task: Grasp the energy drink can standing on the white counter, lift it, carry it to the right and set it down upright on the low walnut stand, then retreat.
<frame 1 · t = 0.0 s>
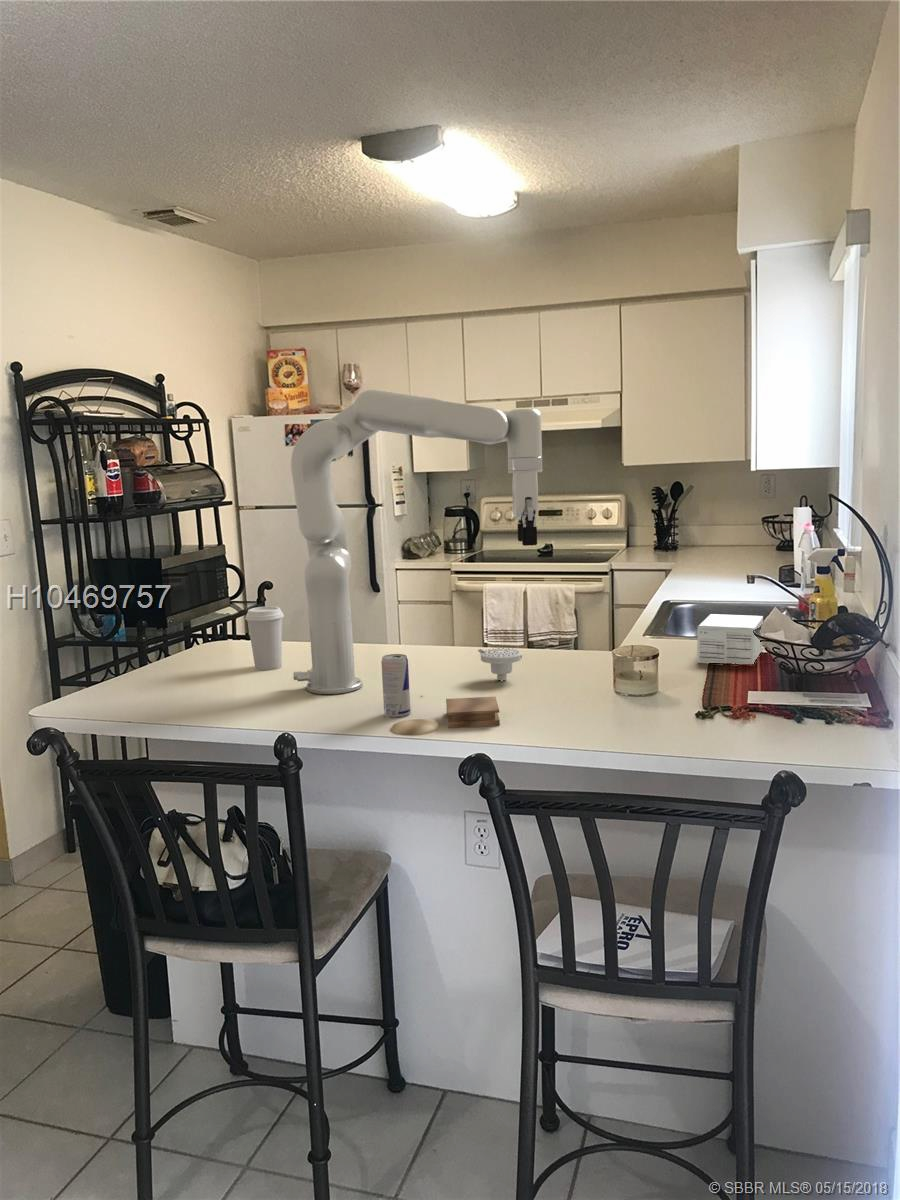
hand: (527, 543, 211), 31 cm above the worktop, tool pointing down, fingers open, 9 cm apart
coffee cup: (268, 668, 238), on the worktop
energy drink: (397, 715, 191), on the worktop
supplement box: (730, 658, 229), on the worktop
cork coaster: (415, 729, 182), on the worktop
showerhead: (500, 680, 216), on the worktop
walnut stand: (472, 719, 186), on the worktop
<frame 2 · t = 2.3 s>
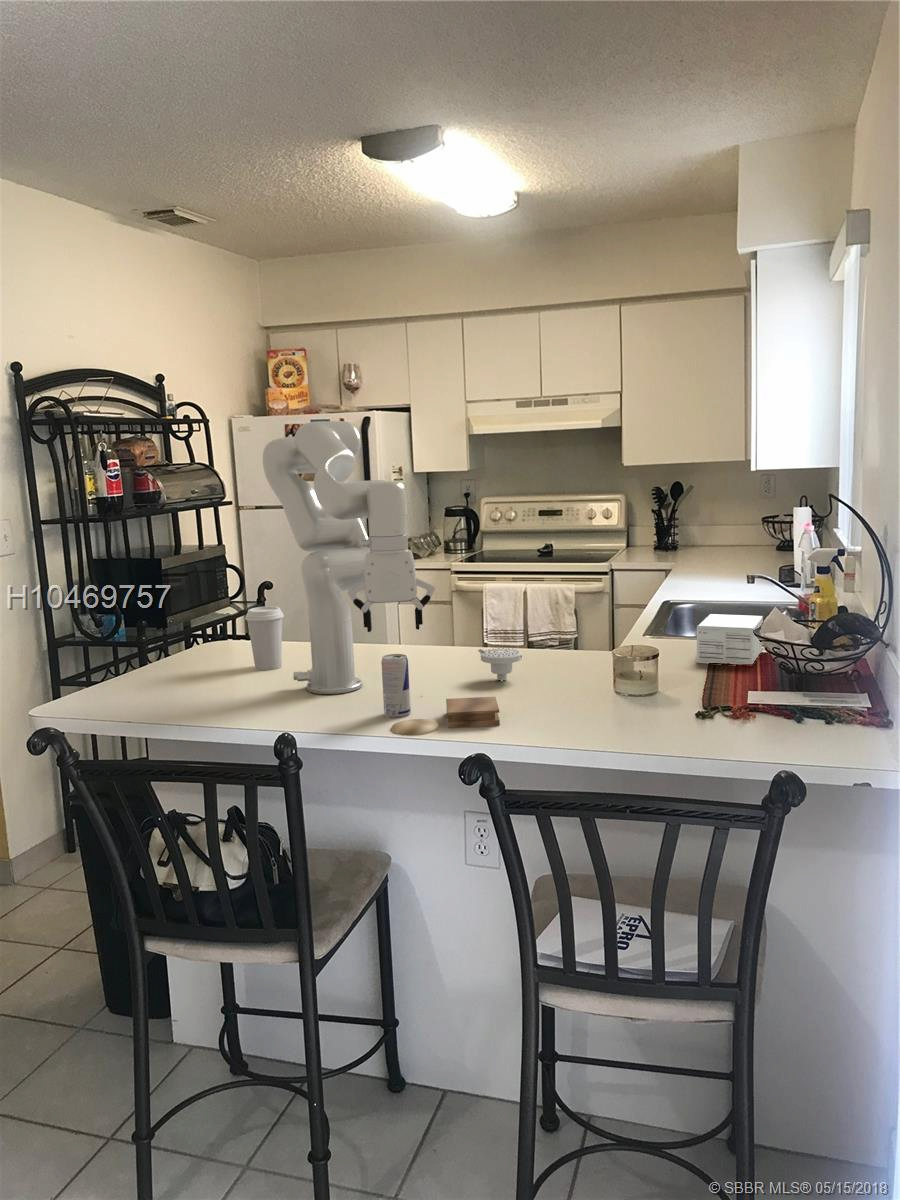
hand: (393, 629, 188), 18 cm above the worktop, tool pointing down, fingers open, 9 cm apart
nothing on the worktop moved.
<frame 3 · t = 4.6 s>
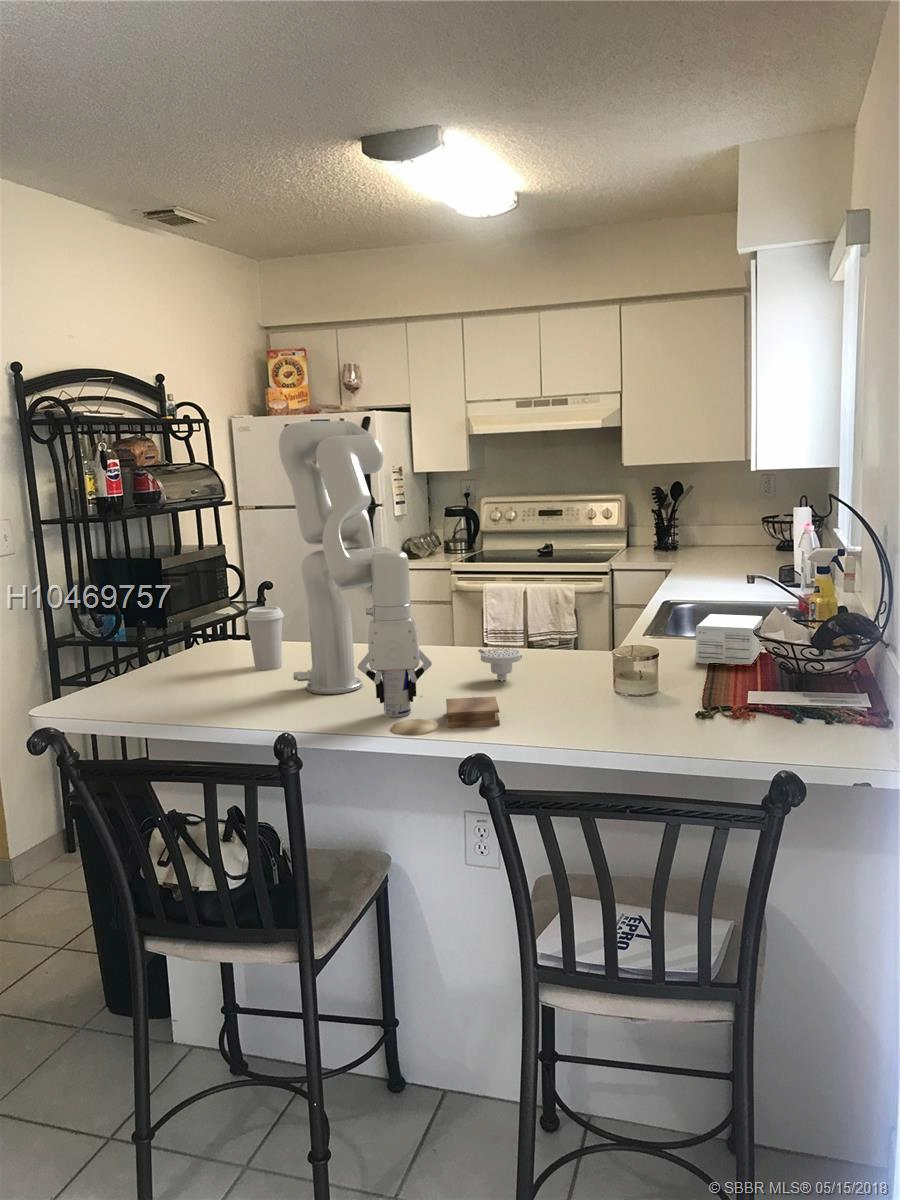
hand: (396, 699, 191), 3 cm above the worktop, tool pointing down, fingers closed on energy drink, 5 cm apart
energy drink: (397, 715, 191), on the worktop, touching gripper
everything else where it was.
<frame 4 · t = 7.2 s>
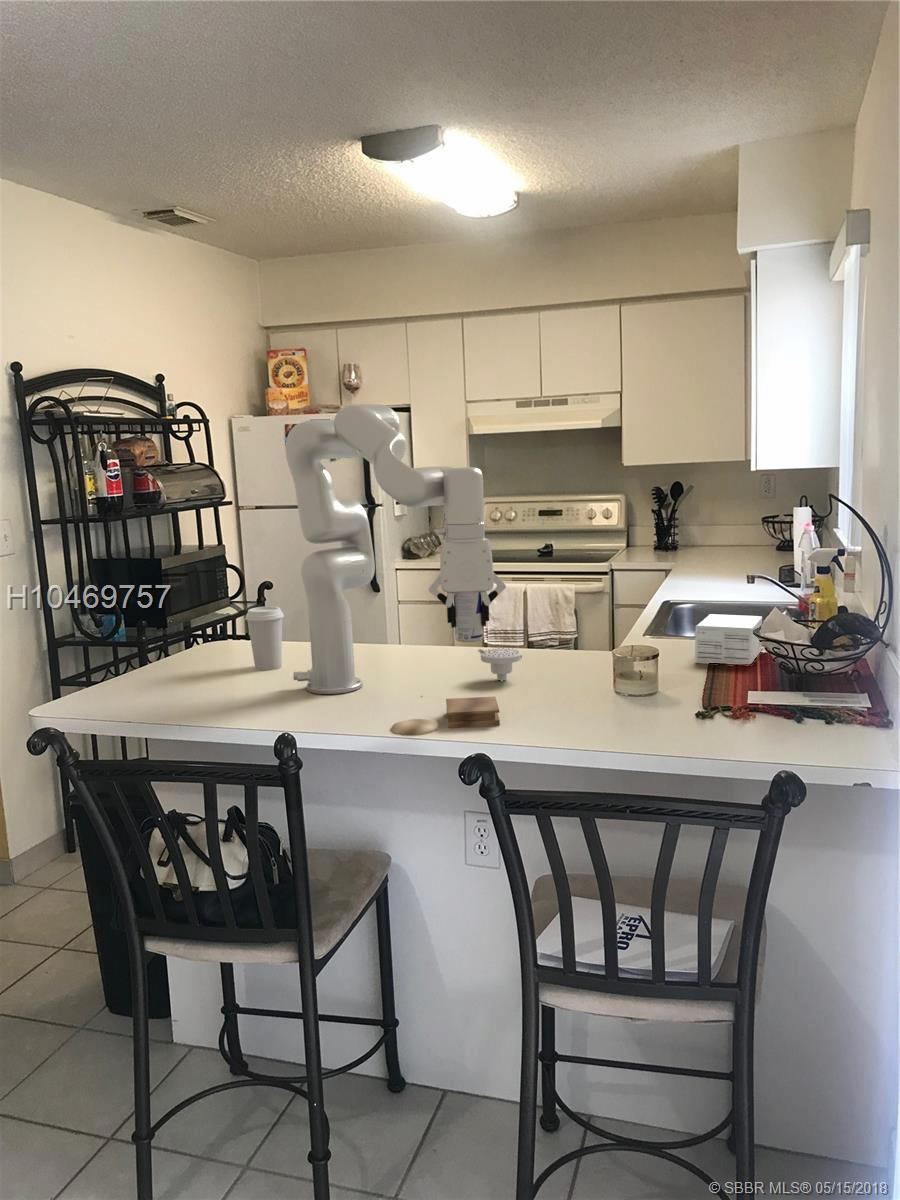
hand: (468, 624, 183), 19 cm above the worktop, tool pointing down, fingers closed on energy drink, 5 cm apart
energy drink: (469, 640, 183), point 16 cm above the worktop, touching gripper
everything else where it was.
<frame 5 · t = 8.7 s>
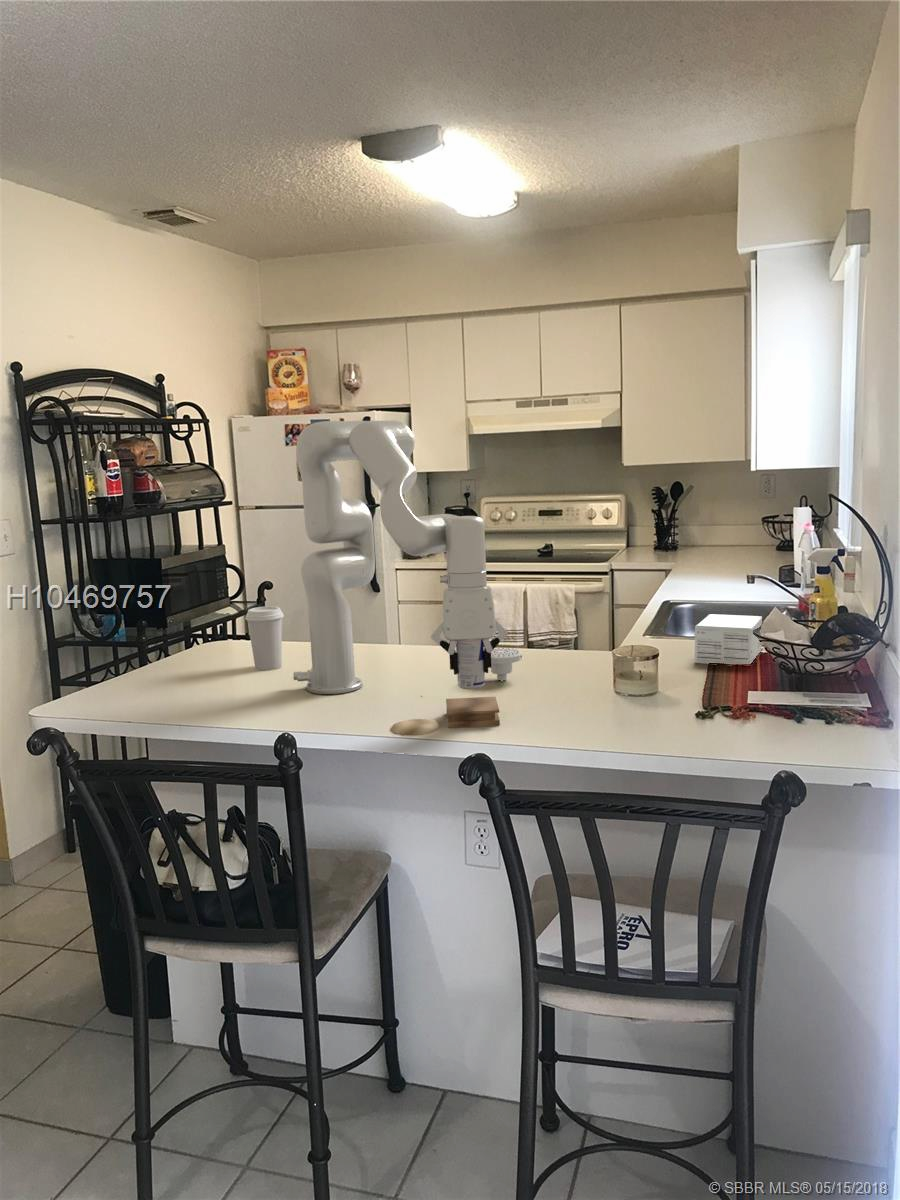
hand: (470, 671, 184), 10 cm above the worktop, tool pointing down, fingers closed on energy drink, 5 cm apart
energy drink: (471, 687, 185), point 7 cm above the worktop, touching gripper
everything else where it was.
when the fingers open (7 cm above the worktop, at t = 9.7 s): energy drink stays where it is, resting on walnut stand.
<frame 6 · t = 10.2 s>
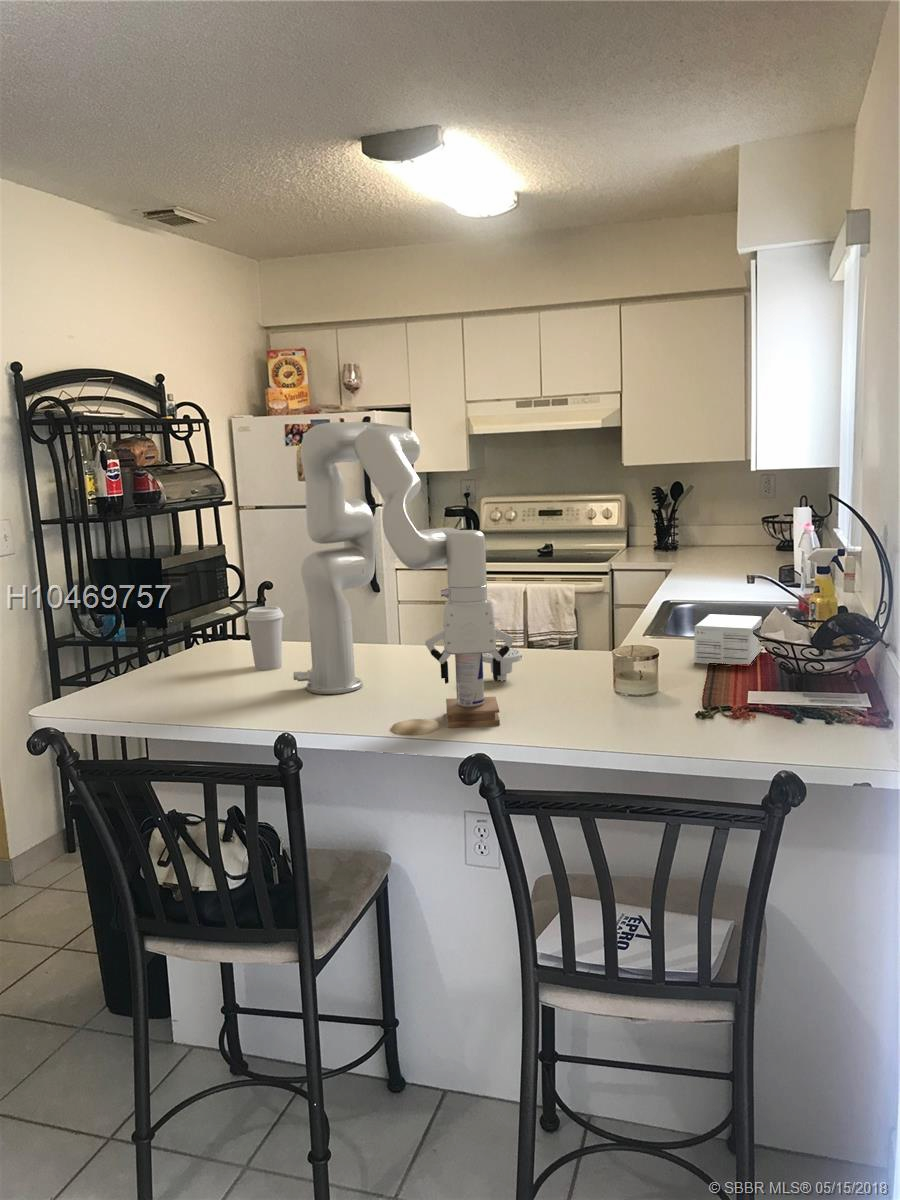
hand: (471, 680, 185), 8 cm above the worktop, tool pointing down, fingers open, 9 cm apart
energy drink: (470, 705, 185), point 3 cm above the worktop, touching walnut stand
everything else where it was.
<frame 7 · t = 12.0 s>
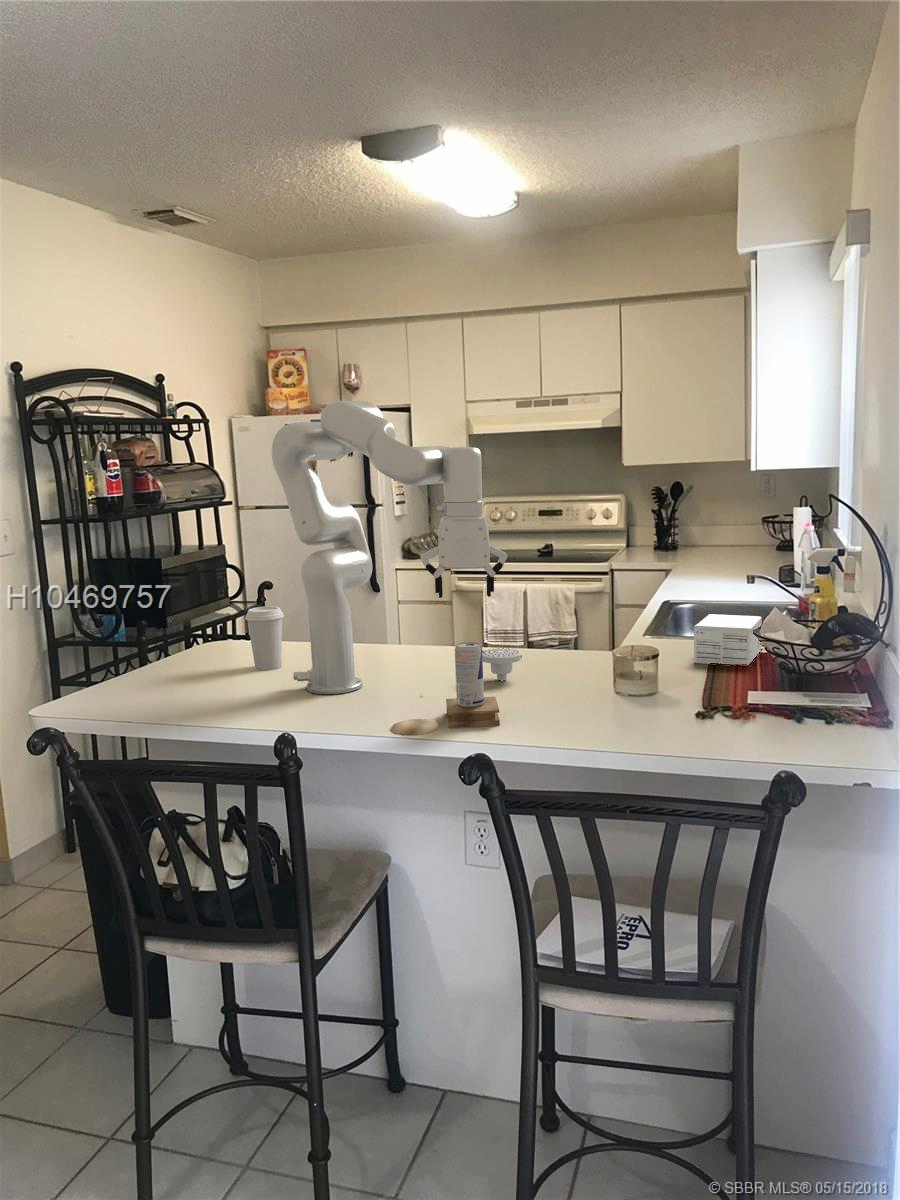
hand: (464, 596, 188), 24 cm above the worktop, tool pointing down, fingers open, 9 cm apart
nothing on the worktop moved.
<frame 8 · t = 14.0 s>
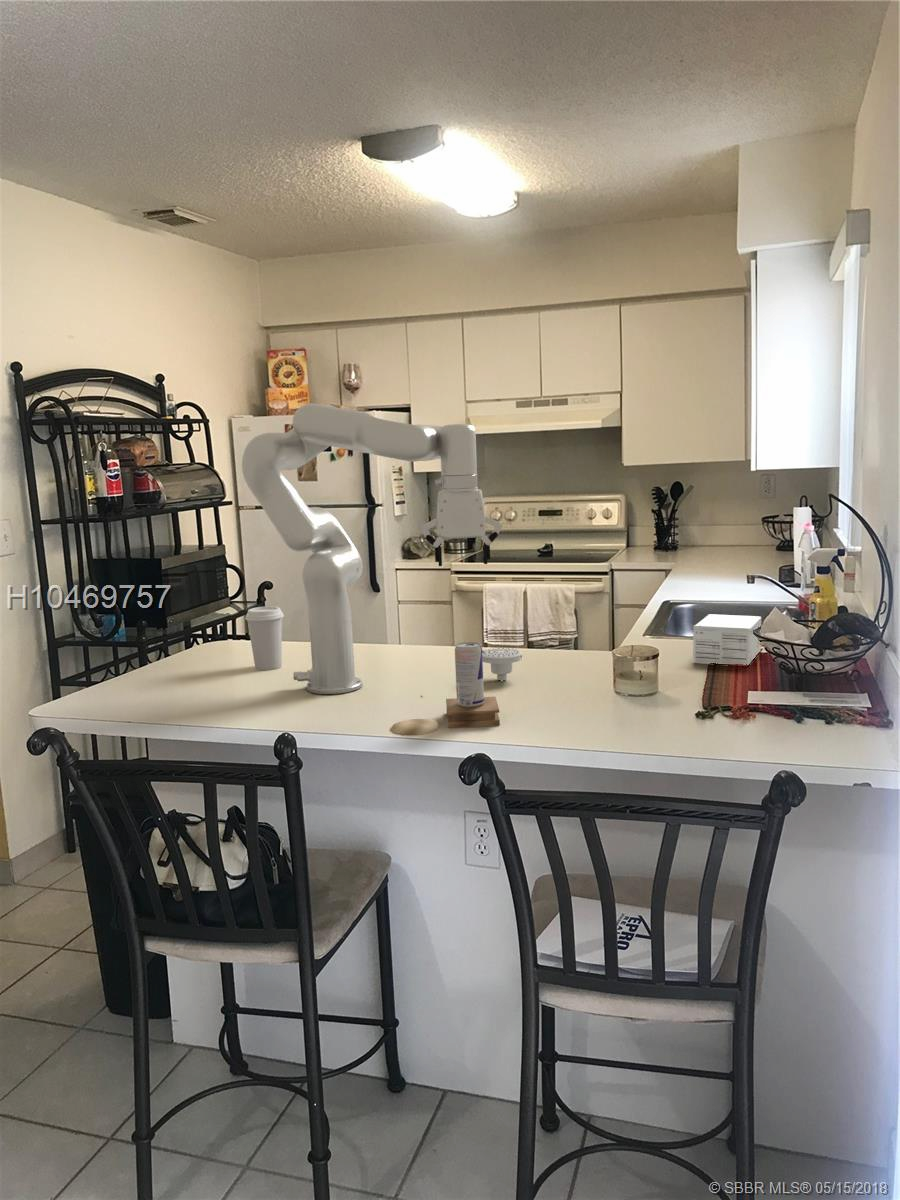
hand: (462, 564, 201), 28 cm above the worktop, tool pointing down, fingers open, 9 cm apart
nothing on the worktop moved.
at the end: energy drink inside the target area on the walnut stand (0.3 cm from its centre), point 2.8 cm above the walnut stand's base; energy drink tilted 0°; the gripper is holding nothing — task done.
